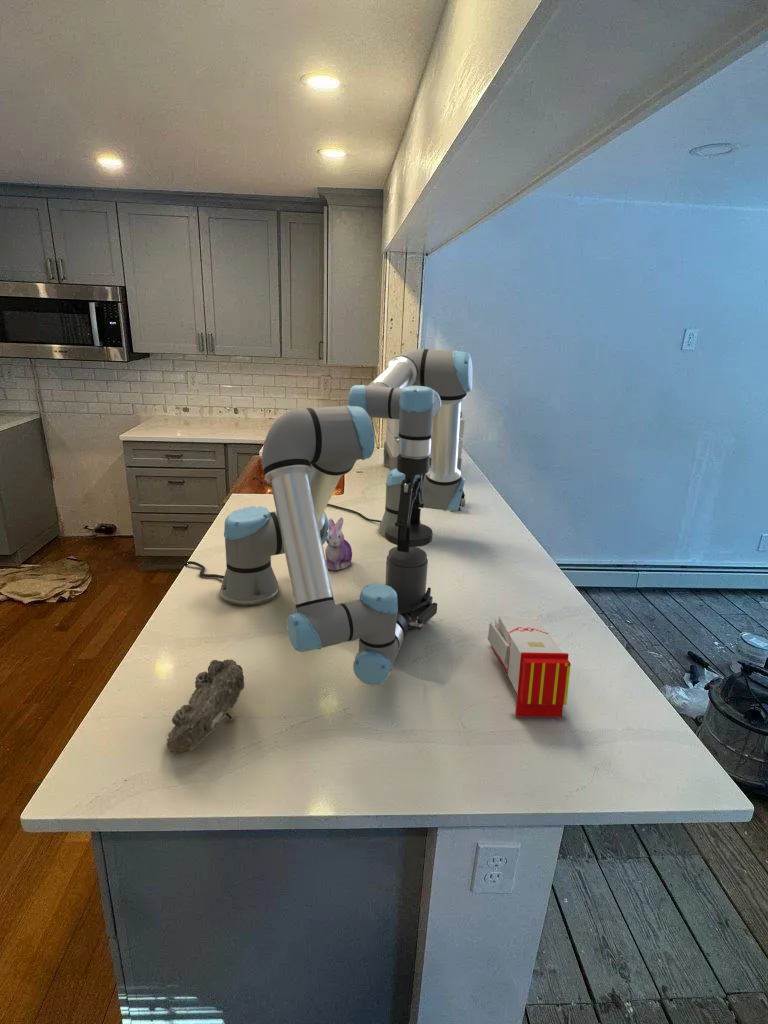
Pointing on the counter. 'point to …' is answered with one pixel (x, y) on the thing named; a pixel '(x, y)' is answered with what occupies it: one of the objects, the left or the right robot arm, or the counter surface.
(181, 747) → the fossil
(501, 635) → the toy
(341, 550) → the figurine
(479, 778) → the counter surface
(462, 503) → the figurine character
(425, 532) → the lid
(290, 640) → the left robot arm
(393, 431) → the white slatted box
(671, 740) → the counter surface
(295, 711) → the counter surface
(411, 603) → the jar
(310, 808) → the counter surface
